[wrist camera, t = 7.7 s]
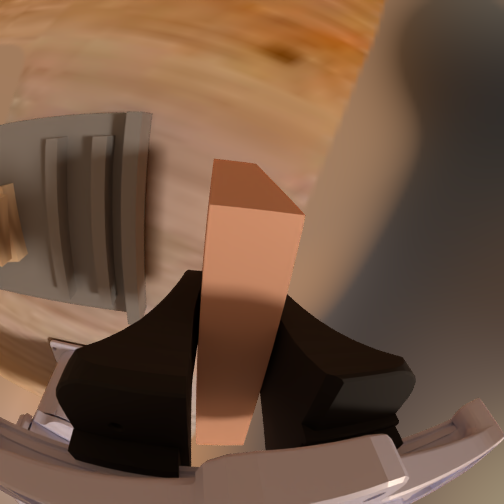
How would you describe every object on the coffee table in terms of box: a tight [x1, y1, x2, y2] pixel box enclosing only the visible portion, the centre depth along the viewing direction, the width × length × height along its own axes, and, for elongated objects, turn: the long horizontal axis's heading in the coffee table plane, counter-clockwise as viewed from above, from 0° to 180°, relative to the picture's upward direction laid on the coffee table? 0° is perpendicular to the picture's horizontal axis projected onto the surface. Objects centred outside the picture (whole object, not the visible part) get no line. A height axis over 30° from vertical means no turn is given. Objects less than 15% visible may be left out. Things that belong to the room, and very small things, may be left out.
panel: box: [196, 159, 306, 445], centre depth 11 cm, size 10×2×8 cm, turn 171°
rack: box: [0, 112, 152, 325], centre depth 16 cm, size 15×17×2 cm
